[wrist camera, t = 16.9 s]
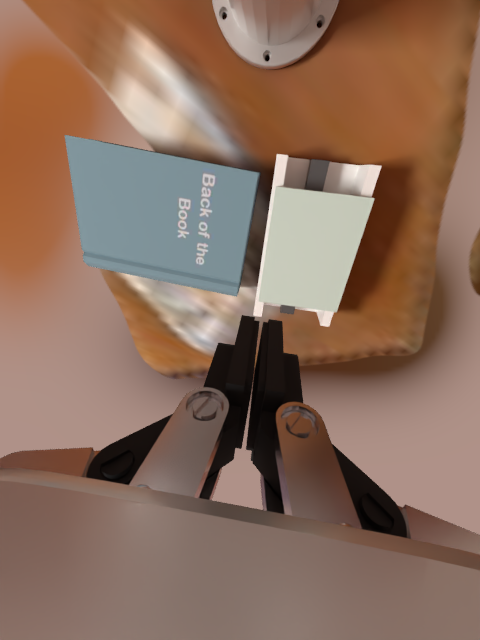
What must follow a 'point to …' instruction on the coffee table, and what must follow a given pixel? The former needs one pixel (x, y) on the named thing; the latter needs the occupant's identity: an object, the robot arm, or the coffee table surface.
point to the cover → (312, 247)
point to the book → (162, 214)
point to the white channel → (317, 179)
